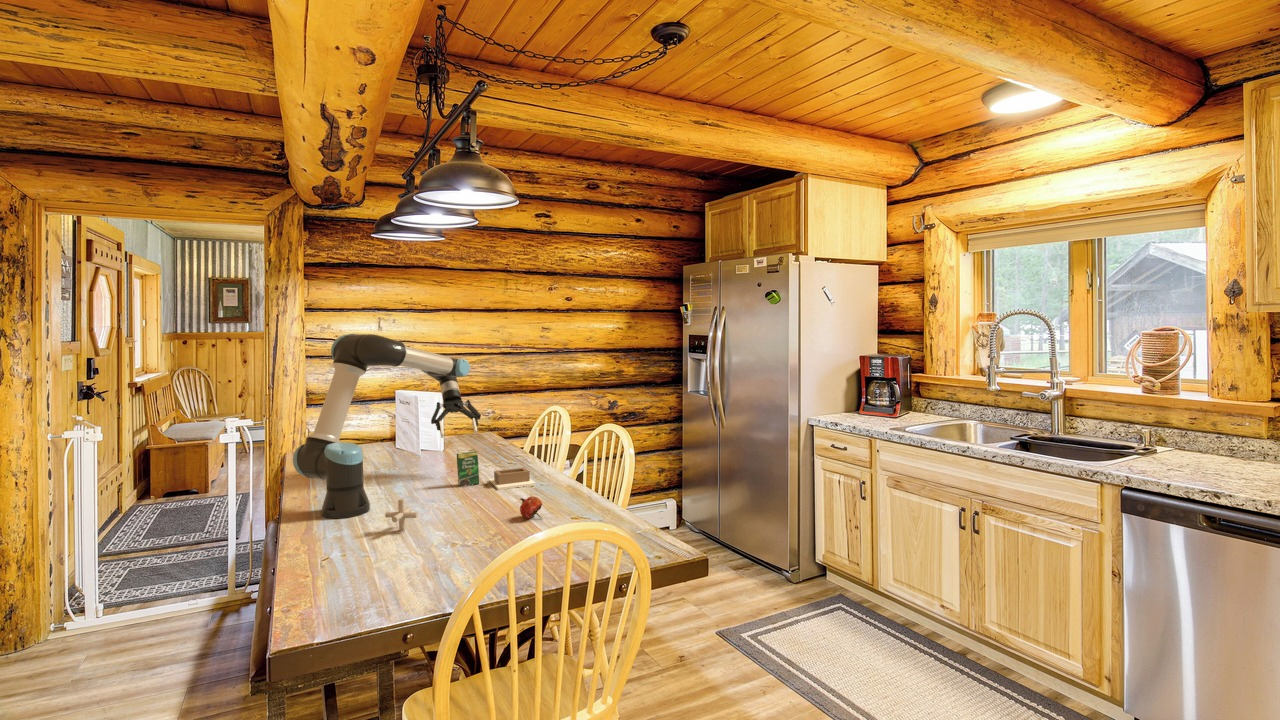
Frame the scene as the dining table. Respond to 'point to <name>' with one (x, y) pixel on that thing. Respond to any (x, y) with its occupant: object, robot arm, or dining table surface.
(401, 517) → the pipe connector
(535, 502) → the pomegranate
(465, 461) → the coffee box
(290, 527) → the dining table surface
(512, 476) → the socket board
